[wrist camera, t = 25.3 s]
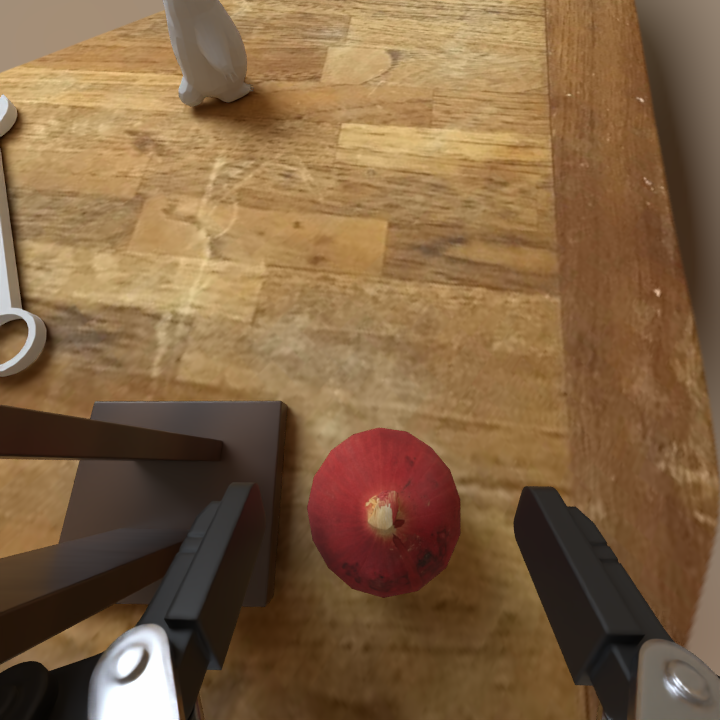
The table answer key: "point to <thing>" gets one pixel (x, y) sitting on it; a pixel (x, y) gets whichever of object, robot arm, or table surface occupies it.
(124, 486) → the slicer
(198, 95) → the figurine
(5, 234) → the wrench
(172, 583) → the robot arm
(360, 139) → the table surface
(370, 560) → the onion
